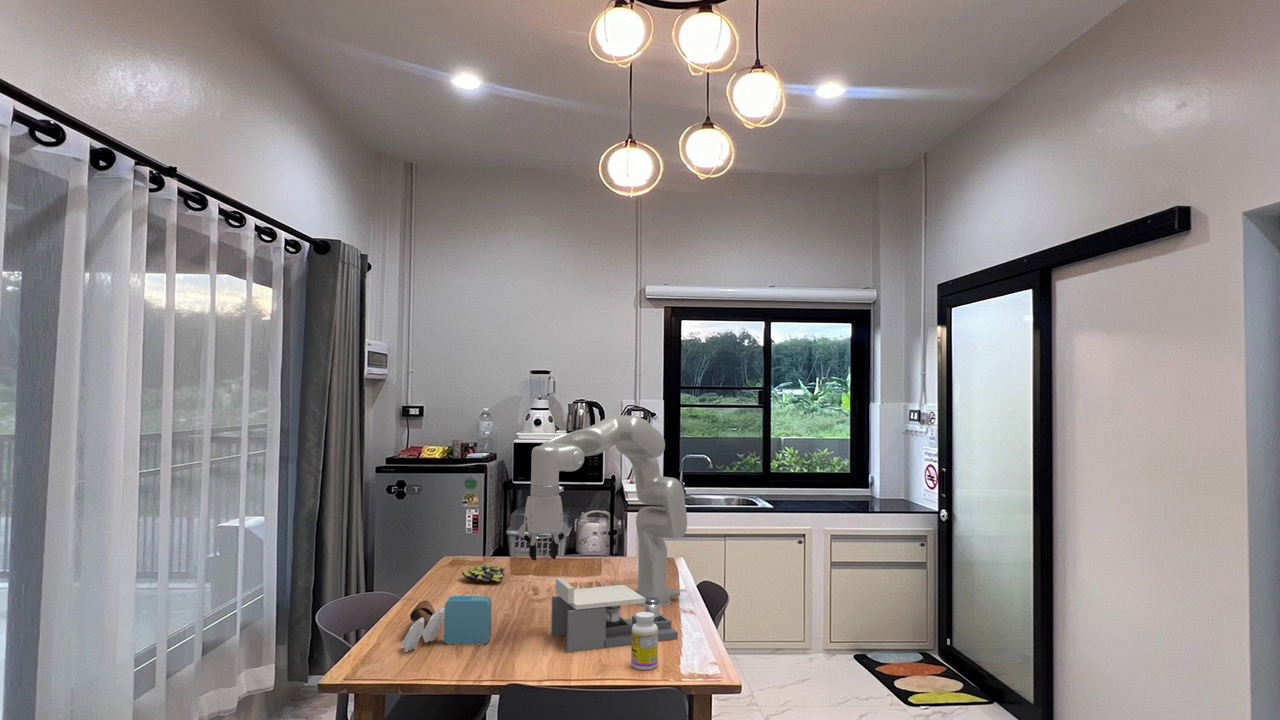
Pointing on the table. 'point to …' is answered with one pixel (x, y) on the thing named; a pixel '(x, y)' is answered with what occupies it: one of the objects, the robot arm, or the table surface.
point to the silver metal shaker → (653, 607)
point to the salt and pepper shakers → (423, 630)
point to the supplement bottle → (644, 642)
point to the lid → (596, 595)
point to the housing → (597, 627)
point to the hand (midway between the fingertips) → (543, 558)
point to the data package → (467, 620)
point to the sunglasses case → (422, 612)
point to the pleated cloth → (484, 573)
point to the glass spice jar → (613, 616)
